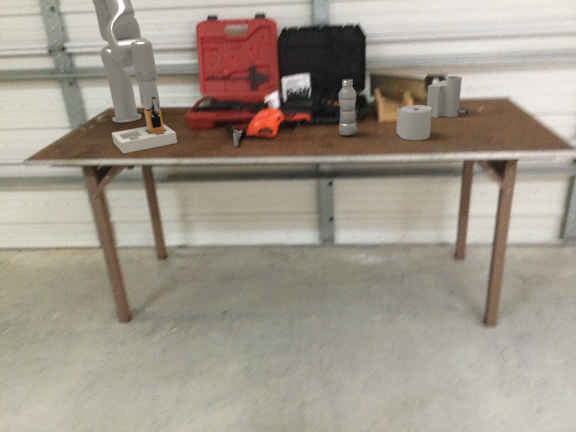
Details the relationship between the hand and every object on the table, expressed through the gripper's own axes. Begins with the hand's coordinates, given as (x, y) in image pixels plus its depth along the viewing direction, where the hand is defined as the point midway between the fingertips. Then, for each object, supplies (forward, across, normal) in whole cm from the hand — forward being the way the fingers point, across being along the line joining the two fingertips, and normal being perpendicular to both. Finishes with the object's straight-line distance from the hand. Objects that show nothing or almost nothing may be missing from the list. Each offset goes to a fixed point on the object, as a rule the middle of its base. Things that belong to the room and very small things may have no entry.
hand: (154, 125), depth 193 cm
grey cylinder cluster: (+7, +44, +107) cm, 116 cm away
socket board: (+6, 0, -5) cm, 8 cm away
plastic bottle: (+7, +40, +60) cm, 72 cm away
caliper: (+7, +19, +26) cm, 33 cm away
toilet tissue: (+7, +56, +77) cm, 95 cm away
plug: (+2, 0, 0) cm, 2 cm away
